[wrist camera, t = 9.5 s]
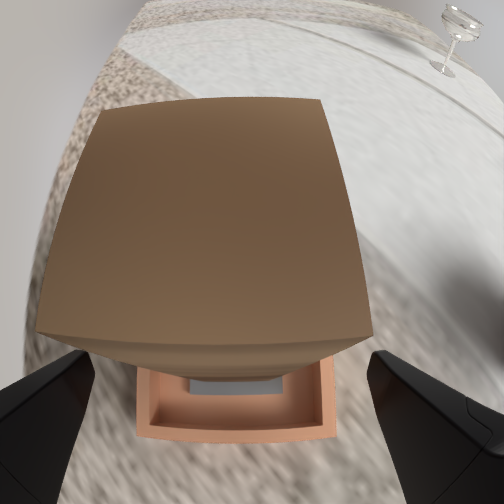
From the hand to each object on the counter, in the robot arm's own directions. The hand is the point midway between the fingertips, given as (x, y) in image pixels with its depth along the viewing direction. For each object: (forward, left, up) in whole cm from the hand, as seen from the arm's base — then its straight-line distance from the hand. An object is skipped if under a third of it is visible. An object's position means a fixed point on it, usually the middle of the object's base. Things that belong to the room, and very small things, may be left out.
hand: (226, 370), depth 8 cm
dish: (+1, +1, -9) cm, 9 cm away
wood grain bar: (+1, +1, -8) cm, 8 cm away
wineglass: (+53, +2, -9) cm, 54 cm away
